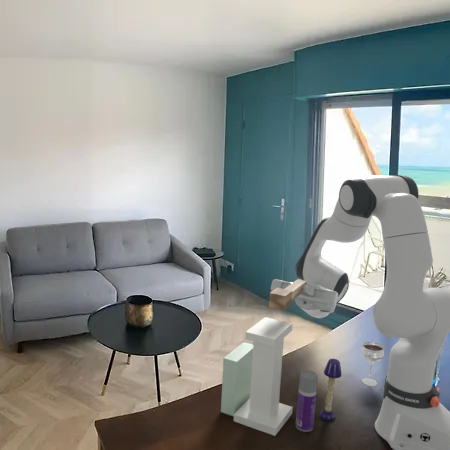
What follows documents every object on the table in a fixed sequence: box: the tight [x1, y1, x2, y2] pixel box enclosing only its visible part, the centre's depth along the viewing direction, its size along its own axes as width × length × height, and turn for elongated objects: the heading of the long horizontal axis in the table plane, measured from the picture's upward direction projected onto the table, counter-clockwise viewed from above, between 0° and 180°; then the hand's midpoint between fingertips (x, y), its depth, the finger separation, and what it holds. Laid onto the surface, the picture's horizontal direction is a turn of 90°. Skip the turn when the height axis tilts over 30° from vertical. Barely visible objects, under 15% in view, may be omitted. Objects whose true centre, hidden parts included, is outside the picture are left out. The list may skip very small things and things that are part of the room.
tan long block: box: [268, 278, 307, 311], centre depth 146 cm, size 4×19×4 cm, turn 152°
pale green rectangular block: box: [220, 341, 253, 417], centre depth 145 cm, size 4×12×16 cm, turn 152°
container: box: [295, 370, 319, 433], centre depth 136 cm, size 5×5×15 cm
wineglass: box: [361, 341, 385, 387], centre depth 161 cm, size 7×7×12 cm
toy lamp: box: [318, 358, 343, 422], centre depth 141 cm, size 5×5×17 cm
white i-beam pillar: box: [233, 316, 294, 436], centre depth 138 cm, size 12×12×26 cm
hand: (297, 286), depth 151 cm, fingers closed on tan long block, 3 cm apart
